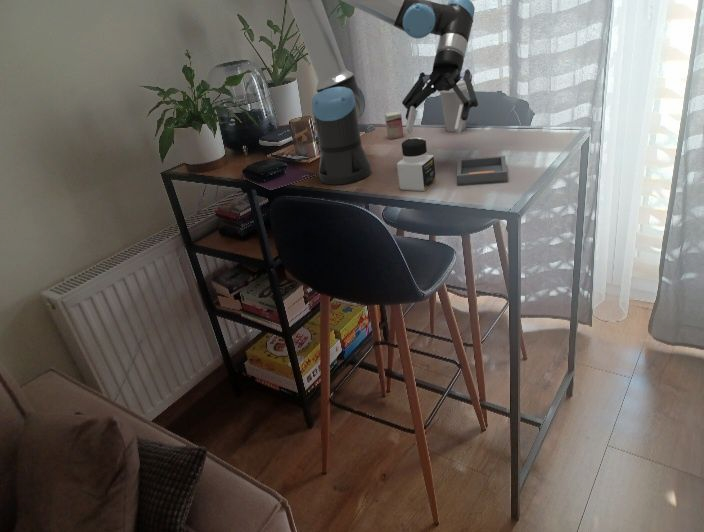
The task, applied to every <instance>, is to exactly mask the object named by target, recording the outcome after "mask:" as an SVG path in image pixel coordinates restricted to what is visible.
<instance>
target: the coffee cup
mask: <svg viewBox="0 0 704 532" xmlns="http://www.w3.org/2000/svg"><path fill="white" fill-rule="evenodd" d="M457 86H458V87H459V89H460V90H461V92H462V93H463V95H464V96H465V98H466V99H467V100H468V90H467V87H466V83H465V81H463V79H462V78H461V79H460V80H459V82H458V83H457ZM437 92H438V93H439V94H440V95H439V96H440V100H441V105H442V106H441V107H442V112H443V113H442V114H443V119H444V126H445V131H446V132H449V133H457V132H456V130H455V124H456V120H457V115H458V111H459V107H460V105H463V106H464V104H463V103H462V101H461V100H460V99H459V97H458V96H457V94H456V93H455V91H454V90H453V88H452V89H450V90H449V91H445V90H443V91H438V90H437ZM466 129H467V120H464V121H463V125H462V130H461V132H462V131H464V130H466Z"/></svg>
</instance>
